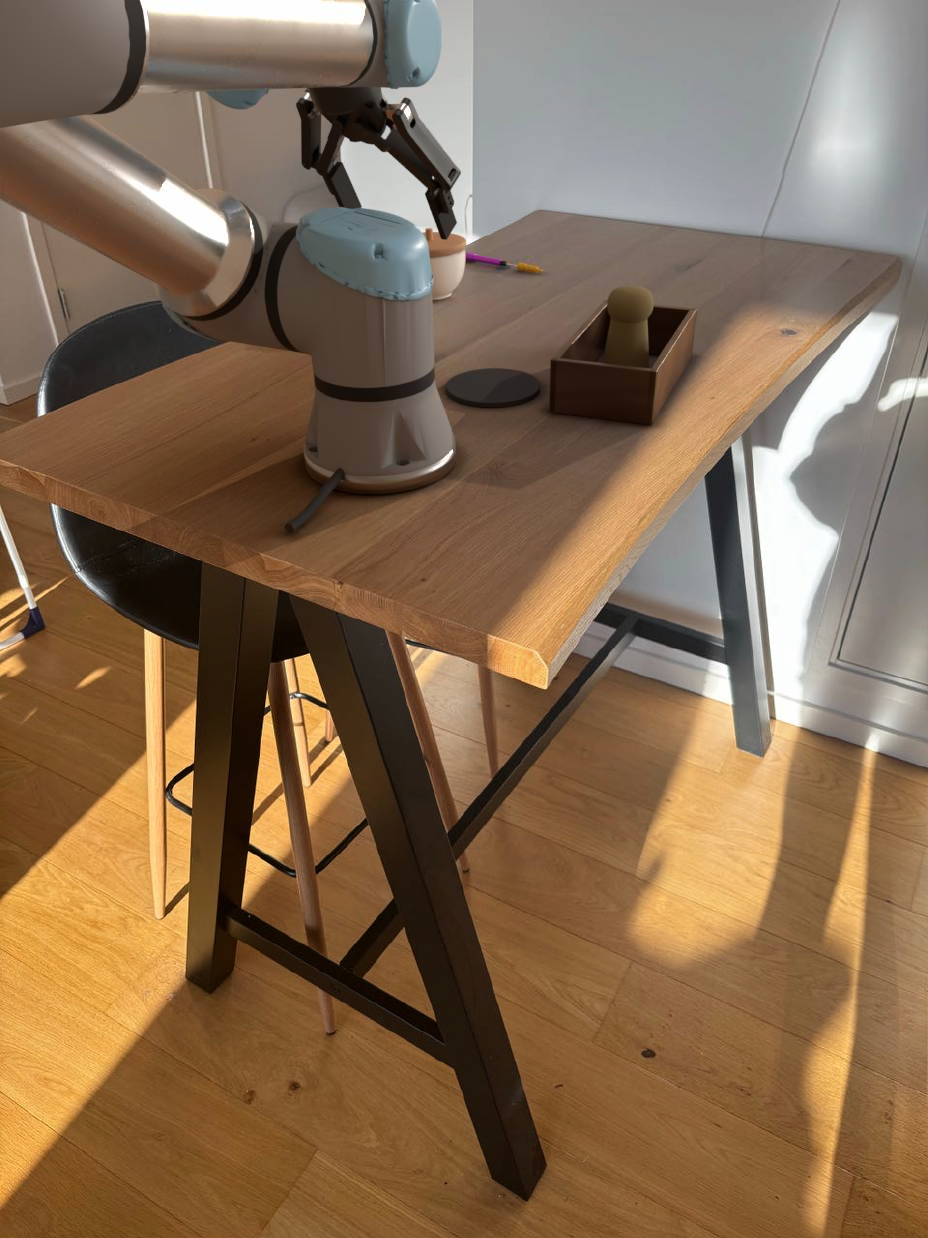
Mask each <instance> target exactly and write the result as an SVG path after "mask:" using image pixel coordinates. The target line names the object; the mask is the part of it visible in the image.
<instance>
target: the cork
mask: <svg viewBox="0 0 928 1238" xmlns="http://www.w3.org/2000/svg"><path fill="white" fill-rule="evenodd" d="M653 305H655V300H654V297H653V294H652V292H651V290H650V289H647V288H646V287H644V286H638V285H622V286H618V287H616V288H614V289H613V290H611V291H610V293H609V295H608V297H607V308H608V313H609V315H610V317H611V321H610V327H609V332H608V337H607V342H606V347H605V351H604V352H603V358H602V363H607V364H615V365H624V366H633V367H642V368H651V367H650V354H649V345H648V324H647V318H648V317H649V316H650V314H651V313H652V310H653Z"/></svg>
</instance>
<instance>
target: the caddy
mask: <svg viewBox="0 0 928 1238" xmlns="http://www.w3.org/2000/svg"><path fill="white" fill-rule="evenodd" d="M607 300H608V299H607ZM607 300H606V299H604V300H603V301H602V303H601V304H600V305H599V306H598V307H596V309H595V310H594V311H593V313H592V314H591V315H590V316H589V317H588V318H587V319H586V320H585V321H584V322H583V323H582V324H581V326H579V328H578V329H577V330H576V331H575V332H574V333H573V334H572V335H571V337H570V338H569V339H568V340H567V341H566V342H565V343H564V344H563V346H561V348H559V350H558V351H557V352H556V353H555V354H554V355H553V356H552V358H551V359H550V365H549V367H550V368H549V396H548V397H549V398H548V401H549V402H548V412H549V413H557V414H564V415H572V416H578V417H586V418H587V417H588V418H595V419H601V420H608V421H609V420H611V421H618V422H624V423H625V422H626V423H631V424H632V423H633V424H641V425H647V426H652V425H653V424H654V422H655V421H656V419H657V417H658V415H659V413H660V412H661V410H662V409H663V407H664V404H665V403H666V401H667V400H668V398H669V396H670V394H671V393H672V391H673V389H674V387H675V386H676V384H677V382H678V381H679V380H680V377H681V376H682V374H683V372H684V370H685V369H686V367H687V365H688V364H689V362H690V360H691V359H692V356H693V349H694V340H695V332H696V331H695V330H696V323H697V322H696V321H697V313H698V309H697V308H693V307H683V306H672V305H661V304H654V305H653V310H652V313H651V314H650V316H649V317H648V318H647V324H648V345H649V355H655V356H658V357H657V359H656V360H655V362H654V363H653V365H652V367H650V368H642V367H633V366H624V365H615V364H607V363H603V362H598V360H599V359H600V358H601V356H602V355H604V352H605V347H606V342H607V337H608V332H609V327H610V321H611V317H610V315H609V313H608V308H607Z"/></svg>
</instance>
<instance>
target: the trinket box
mask: <svg viewBox="0 0 928 1238" xmlns="http://www.w3.org/2000/svg"><path fill="white" fill-rule="evenodd" d="M422 233H423V235H424V236H425V237H426V240H427V243H428V248H429V256H430V264H431V271H432V275H433V288H432V301H438V300H439V301H440V300H444V299H447V298H449V297H451V296H452V295H453V292H454V291H455V290H456V289H457V287H458V286H459V285H460V284H461V282H462V280H463V277H464V274H465V269H466V260H465V258H466V253H467V252H466V248H467V240H466V238H465V237H464V236H462V235H459V234H457V233H452V232H451V234H450V235H449V237H448V238H447V240H445V239H441V237H440V234H439V232H438V231H433V228H432V227H428V228H427V227H426V228H425V232H422Z"/></svg>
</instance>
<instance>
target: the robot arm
mask: <svg viewBox="0 0 928 1238" xmlns="http://www.w3.org/2000/svg"><path fill="white" fill-rule="evenodd" d="M442 30H443V29H442V20H441V15H440V11H439V7H438V4H437V2H436V0H0V202H1V203H4V204H6V205H8V206H10V207H11V208H14V209H15V210H17V211H19V212H21V213H23V214H25V215H27V216H29V217H31V218H32V219H34V220H36V221H38V222H40V223H41V224H44V225H45V226H47V227H50V228H51V229H53V230H55V231H57V232H59V233H61V234H63V235H65V236H67V237H69V238H71V239H72V240H74V241H75V242H77V243H80V244H81V245H84V246H85V247H87V248H89V249H91V250H93V251H95V252H96V253H98V254H100V255H102V256H104V257H106V258H107V259H109V260H111V261H113V262H115V263H117V264H119V265H121V266H123V267H125V268H127V269H129V270H131V271H132V272H135V273H136V274H138V275H140V276H142V277H143V278H145V279H148V280H149V282H150V285H151V287H152V290H153V292H154V293H155V295H156V297H157V298H158V300H159V301H160V302H161V303H162V308H163V309H164V311H165V312H166V314H168V317H169V318H170V319H171V320H172V321H174V323H176V324H177V325H178V326H179V327H181V328H183V329H184V330H186V331H187V332H189V333H192V334H195V335H197V336H199V337H201V338H203V339H207V340H210V341H215V342H221V343H222V342H226V343H237V344H243V345H250V346H256V347H262V348H269V349H275V350H281V351H288V352H293V353H299V354H304V355H305V354H306V355H308V356H310V357H311V364H312V371H313V379H314V390H315V393H314V398H313V404H312V408H311V411H310V417H309V422H308V426H307V432H306V435H305V440H304V445H303V457H304V465H305V469H306V473H307V474H308V475H309V476H310V478H311V479H313V480H314V481H315V482H317V483H318V484H320V485H322V486H321V488H320V489H319V490H318V491H317V492H316V494H315V495H314V496H313V497H312V499H311V500H310V502H309V503H308V504H307V505H306V506H305V507H304V508H303V510H302V511H301V512H300V513H299V514H297V515H296V516H295V517H294V518H292V519H291V520H289V521H288V522H286V524H285V525H284V530H285V531H286V532H287V533H289V534H293V533H294V532H295V531H297V530H298V529H299V528H301V527H303V526H304V524H305V523H306V522H308V521H309V520H310V519H311V518H313V516H314V514H315V513H317V511H318V510H319V508H320V507H321V506H322V504H323V503H324V502H325V500H326V499H327V498H328V497H329V496H330V495H331V493H332V492H333V491H334V490H337V491H340V492H345V493H351V494H361V495H383V494H384V495H386V494H395V493H400V492H401V493H402V492H407V491H410V490H414V489H418V488H422V487H425V486H428V485H429V484H432V483H434V482H436V481H438V480H440V479H442V478H443V477H445V476H447V474H448V473H449V472H450V471H452V469H453V468H454V466H455V465H456V462H457V441H456V436H455V434H454V431H453V429H452V426H451V423H450V420H449V418H448V415H447V412H446V410H445V407H444V405H443V401H442V399H441V397H440V394H439V391H438V389H437V385H436V372H435V371H436V369H435V339H434V338H435V337H434V336H435V335H434V307H433V306H434V305H433V300H432V288H433V275H432V271H431V264H430V256H429V248H428V243H427V240H426V237H425V236H424V235H423V232H422V230H421V229H420V228H419V227H418V226H417V225H416V224H415V223H414V222H412V221H410V220H408V219H406V218H404V217H402V216H400V215H396V214H394V213H390V212H386V211H383V210H377V209H371V208H365V207H363V206H362V204H361V201H360V199H359V196H358V194H357V192H356V190H355V187H354V185H353V183H352V181H351V178H350V176H349V174H348V172H347V169H346V167H345V165H344V162H343V161H336V160H337V158H338V157H339V155H338V154H339V153H340V150H341V147H342V145H343V143H344V140H345V138H346V139H348V140H349V142H350V143H351V142H352V143H364V144H366V145H374V146H375V147H376V148H377V149H378V150H379V151H380V152H381V153H388V154H389V155H391V156H392V158H393V159H395V160H396V162H398V163H399V164H400V165H401V166H403V167H404V168H405V169H406V171H408V172H409V173H410V174H411V175H412V176H413V177H414V178H415V179H417V181H418V182H419V183H420V184H422V185H423V186H424V187H425V188H426V191H425V192H424V196H425V198H426V201H427V204H428V207H429V210H430V212H431V215H432V218H433V221H434V223H435V226H436V229H437V232H439V234H440V237H441V239H445V240H447V238H448V237H449V235H450V234H451V233H452V232H453V230H454V229H455V227H456V226H457V224H458V222H457V218H456V216H455V212H454V210H453V207H454V206H455V200H454V197H453V193H452V189H453V187H454V186H455V184H456V182H457V181H458V180H459V177H460V176H461V174H462V171H461V169H460V168H459V167H458V165H457V164H456V162H454V160H453V159H452V157H451V156H450V155H449V154H448V152H447V151H446V149H444V147H443V146H442V145H441V143H440V142H439V141H438V139H437V138H436V137H435V136H434V134H433V133H432V131H430V129H429V128H428V127H427V125H426V124H425V122H423V120H422V119H421V117H420V116H419V114H418V111H417V109H416V107H415V104H414V103H413V101H412V100H411V99H410V98H408V97H403V98H402V100H401V101H400V103H389V101H388V99H387V98H386V97H385V95H383V93H382V88H383V89H384V88H385V89H386V88H387V89H390V90H398V89H401V88H419V87H422V86H425V85H426V84H427V83H428V82H429V81H430V80H431V78H432V77H433V76H434V75H435V73H436V70H437V68H438V65H439V62H440V58H441V52H442ZM287 89H305V90H304V91H303V93H302V94H301V96H300V98H299V99H298V100H297V101H296V103H295V108H296V110H297V112H298V116H299V119H300V153H301V154H300V156H301V159H300V161H301V162H300V163H301V166H302V167H303V168H304V169H305V170H307V171H308V170H311V169H314V170H315V171H316V173H317V174H318V175H319V176H321V177H322V179H323V181H324V183H325V186H326V188H327V189H328V192H329V193H330V195H332V196H334V198H335V201H336V203H337V205H338V206H335V207H326V208H319V209H315V210H312V211H309V212H307V213H305V214H304V215H303V216H301V217H300V219H299V221H298V222H290V221H289V222H288V221H281V220H280V221H278V220H274V219H270V218H266V217H264V216H262V215H260V214H259V213H258V212H256V211H254V210H253V209H252V208H251V207H249V206H248V205H247V204H246V203H244V202H243V201H241V200H240V199H238V198H237V197H235V196H234V195H232V194H231V193H230V192H228V191H225V190H223V189H220V188H213V187H212V188H211V187H209V188H208V187H207V188H200V189H196V190H195V189H193V188H192V187H191V186H190V185H188V184H186V183H185V182H184V181H182V180H181V179H179V178H178V177H176V175H174V174H172V173H171V172H170V171H168V170H167V169H165V168H164V167H162V166H161V165H159V164H158V163H157V162H155V161H154V160H152V159H151V158H149V157H147V155H145V154H144V153H143V152H141V151H139V150H138V149H137V148H135V147H134V146H132V145H131V144H130V143H128V142H126V141H125V140H124V139H122V137H119V136H118V135H116V134H115V133H114V132H112V131H110V130H109V129H108V128H107V127H105V126H104V125H102V124H101V123H99V122H98V121H96V120H95V119H94V118H92V117H91V116H92V115H105V114H111V113H115V112H118V111H120V110H121V109H123V108H124V107H125V106H127V105H128V104H129V103H130V102H131V101H132V100H133V99H134V98H135V96H136V95H138V94H139V95H140V94H166V93H167V94H168V93H172V94H173V93H196V92H197V93H198V92H201V93H202V92H204V93H206V94H207V95H208V96H209V97H211V98H212V99H213V100H214V101H216V102H218V103H219V104H221V105H222V106H225V107H227V108H230V109H234V110H241V111H242V110H248V109H250V108H252V107H254V106H256V105H257V104H258V103H259V102H260V100H261V99H262V98H263V97H264V96H265V95H267V94H268V93H269V91H270V90H287ZM90 115H91V116H90ZM322 116H323V117H324V118H325V119H326V120H327V121H328V122H329V124H331V127H330V130H329V132H328V135H327V136H326V137H327V138H326V139H327V140H326V142H325V145H324V148H323V150H322V149H321V148H322ZM387 128H389V133H388V134H387V136H386V138H383V135H384V133H385V131H386V129H387ZM335 161H336V163H335Z"/></svg>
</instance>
